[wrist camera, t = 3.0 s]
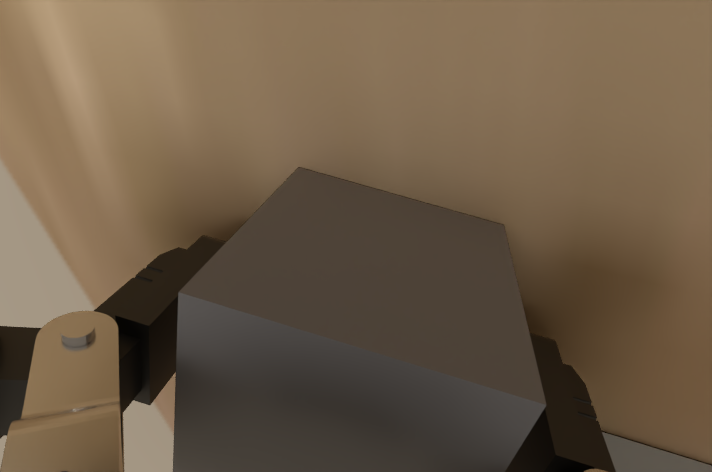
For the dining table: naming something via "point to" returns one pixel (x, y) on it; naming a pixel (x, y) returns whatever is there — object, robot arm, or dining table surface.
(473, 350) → the block
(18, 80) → the dining table surface
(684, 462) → the post base
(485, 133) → the dining table surface
